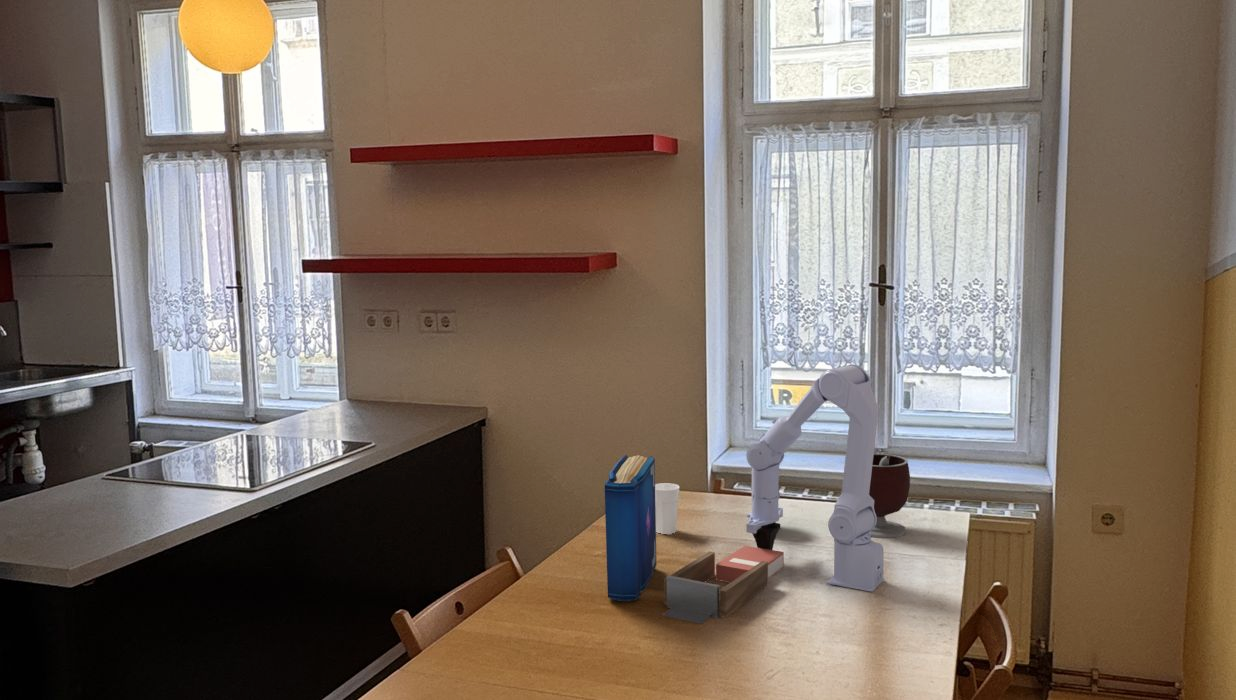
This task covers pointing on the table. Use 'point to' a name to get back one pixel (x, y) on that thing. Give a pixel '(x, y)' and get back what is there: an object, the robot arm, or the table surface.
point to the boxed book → (748, 562)
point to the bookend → (692, 599)
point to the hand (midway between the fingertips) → (765, 556)
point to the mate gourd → (888, 492)
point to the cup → (666, 507)
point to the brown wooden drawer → (734, 591)
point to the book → (630, 527)
